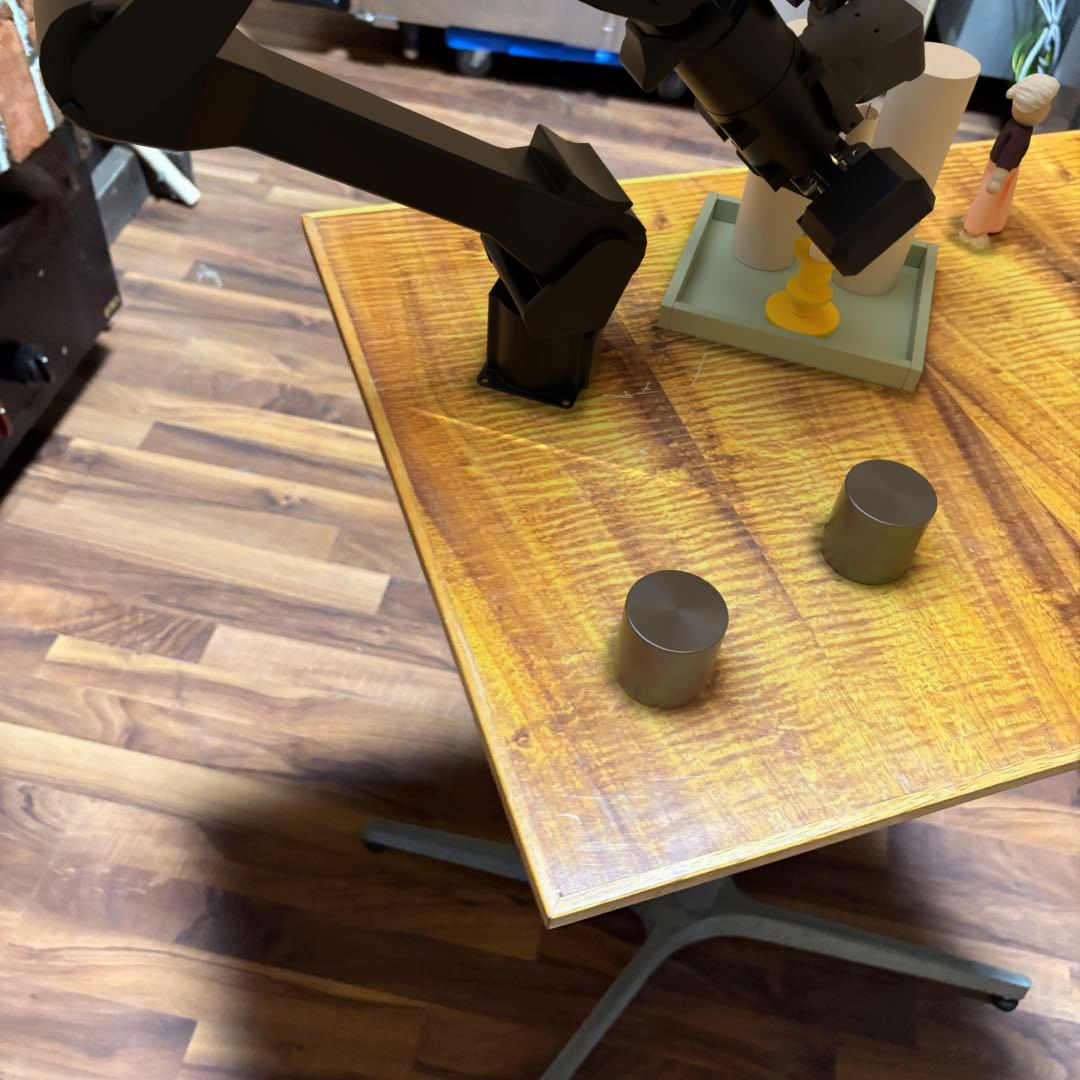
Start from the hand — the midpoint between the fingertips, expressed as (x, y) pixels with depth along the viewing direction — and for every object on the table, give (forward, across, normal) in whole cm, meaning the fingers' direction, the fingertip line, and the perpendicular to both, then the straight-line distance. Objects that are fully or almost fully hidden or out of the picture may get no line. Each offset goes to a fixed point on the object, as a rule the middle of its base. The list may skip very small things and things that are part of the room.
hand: (857, 221), depth 67 cm
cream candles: (+7, +6, +4) cm, 10 cm away
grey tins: (-6, -21, +17) cm, 28 cm away
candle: (+4, 0, +7) cm, 8 cm away
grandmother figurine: (+18, +7, -7) cm, 21 cm away
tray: (+5, +3, +6) cm, 8 cm away
